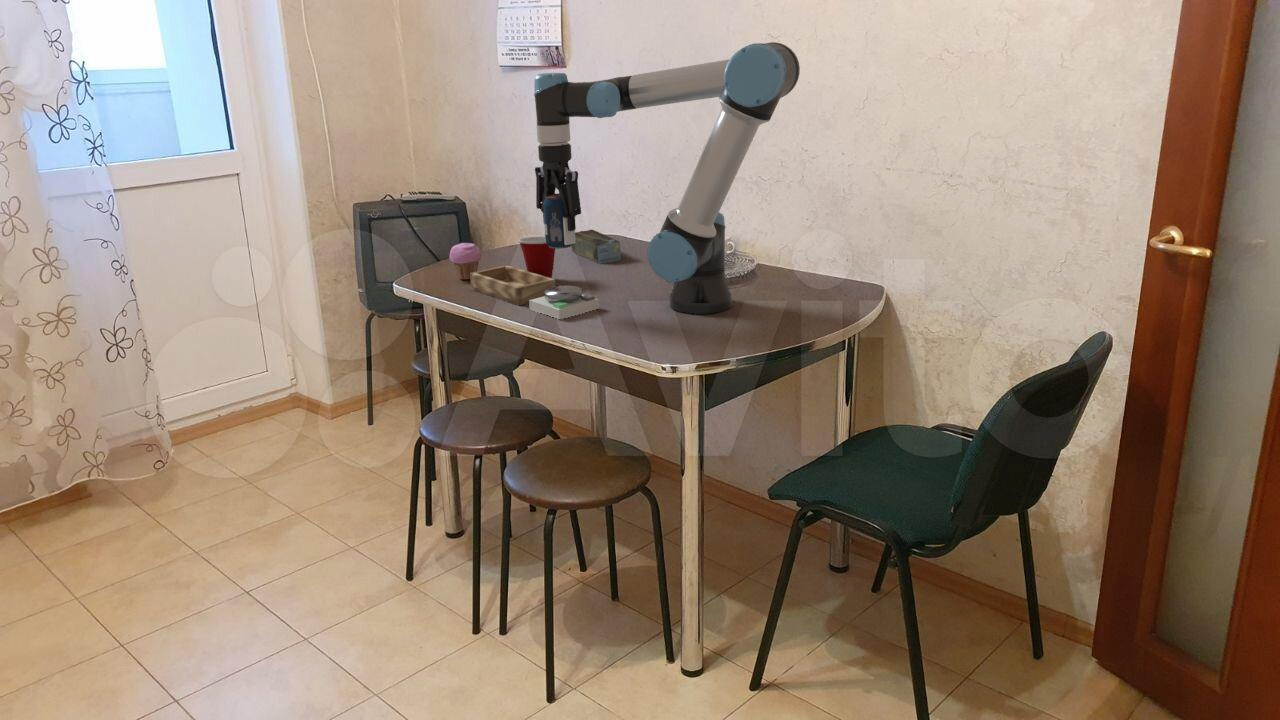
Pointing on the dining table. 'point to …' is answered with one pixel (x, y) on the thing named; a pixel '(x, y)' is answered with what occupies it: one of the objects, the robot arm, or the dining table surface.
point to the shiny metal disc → (563, 293)
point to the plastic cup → (538, 255)
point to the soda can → (554, 222)
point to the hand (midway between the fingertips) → (560, 241)
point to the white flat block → (564, 306)
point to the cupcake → (465, 259)
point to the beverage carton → (596, 247)
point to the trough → (510, 284)
